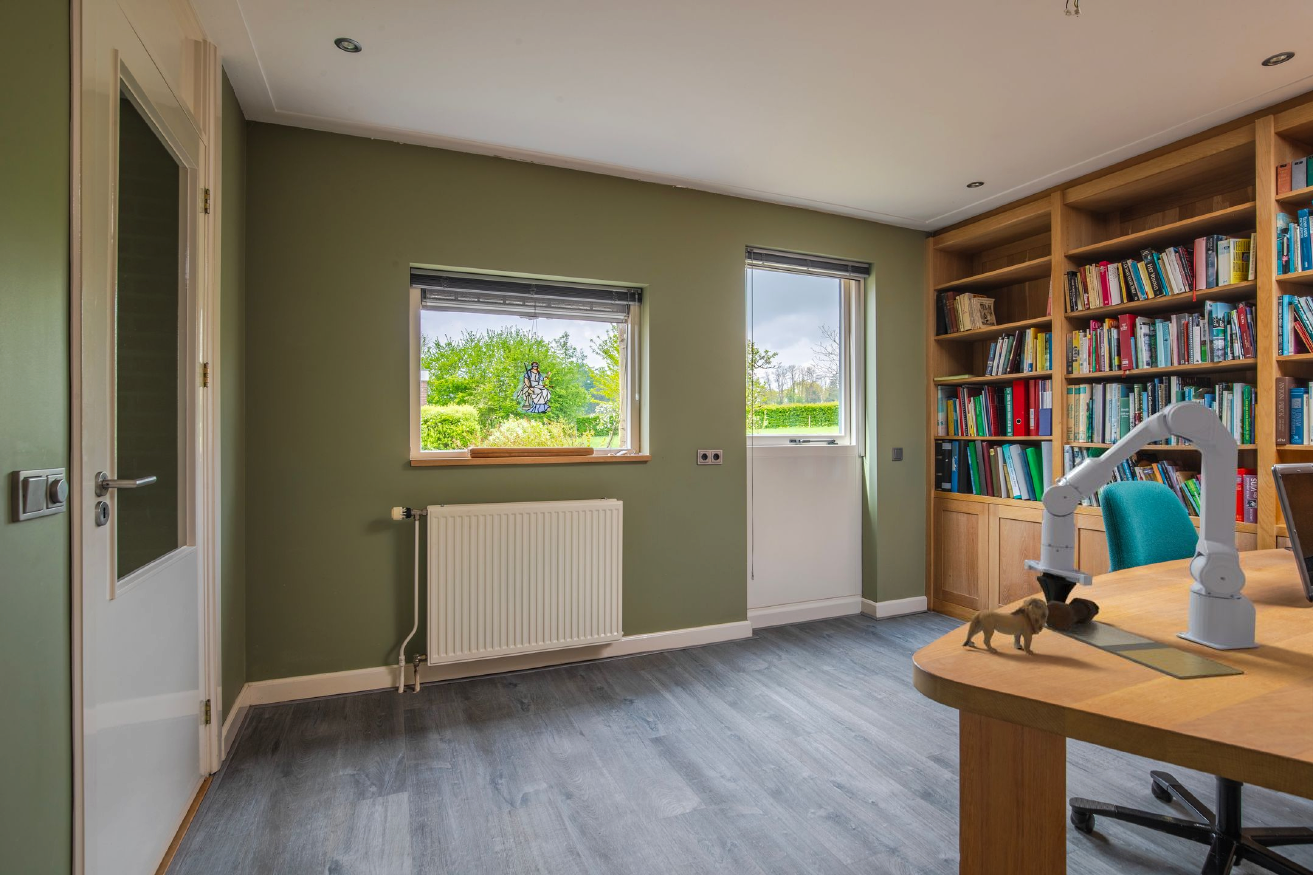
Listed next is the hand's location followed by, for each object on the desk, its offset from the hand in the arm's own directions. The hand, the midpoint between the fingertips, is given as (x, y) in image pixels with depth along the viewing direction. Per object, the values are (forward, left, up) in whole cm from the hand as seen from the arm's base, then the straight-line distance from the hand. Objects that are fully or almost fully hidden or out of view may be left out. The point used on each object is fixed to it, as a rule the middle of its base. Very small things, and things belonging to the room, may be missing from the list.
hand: (1055, 612), depth 130 cm
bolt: (-1, +4, -1) cm, 4 cm away
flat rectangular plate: (0, +16, -1) cm, 16 cm away
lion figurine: (+23, +13, -2) cm, 27 cm away
